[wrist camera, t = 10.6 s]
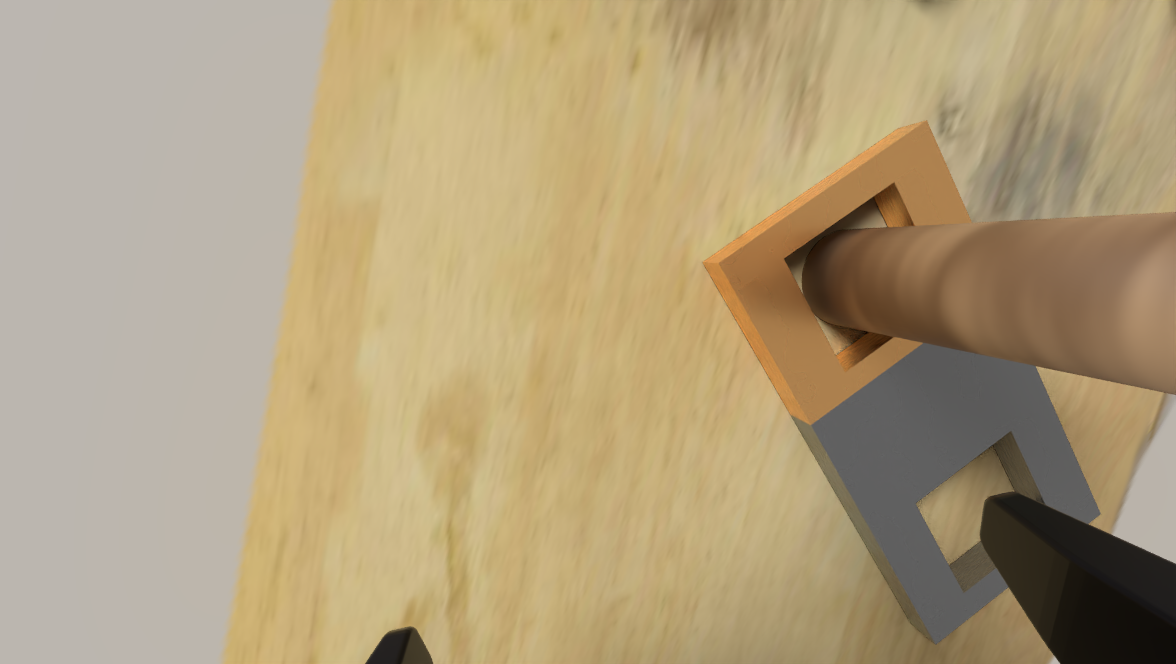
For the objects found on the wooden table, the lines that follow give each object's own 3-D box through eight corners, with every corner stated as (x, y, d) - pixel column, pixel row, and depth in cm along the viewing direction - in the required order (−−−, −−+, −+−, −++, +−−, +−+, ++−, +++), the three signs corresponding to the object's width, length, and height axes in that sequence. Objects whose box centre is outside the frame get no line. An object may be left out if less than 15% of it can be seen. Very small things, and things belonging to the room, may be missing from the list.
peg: (868, 335, 25) (1437, 459, 10) (789, 310, 24) (1290, 406, 9) (899, 246, 24) (1530, 241, 10) (820, 216, 24) (1388, 164, 9)
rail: (1068, 500, 28) (1100, 513, 27) (911, 623, 27) (935, 644, 26) (898, 128, 24) (926, 120, 22) (702, 262, 23) (718, 263, 21)
